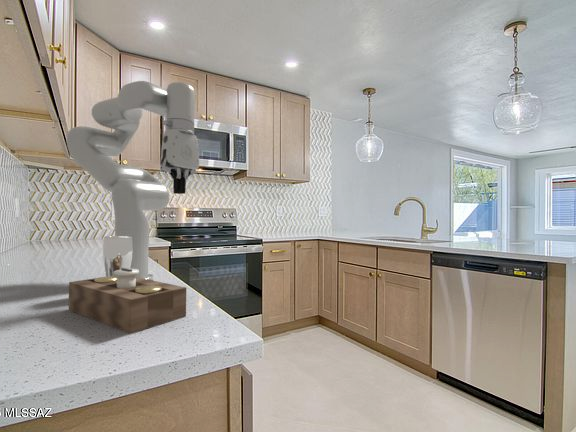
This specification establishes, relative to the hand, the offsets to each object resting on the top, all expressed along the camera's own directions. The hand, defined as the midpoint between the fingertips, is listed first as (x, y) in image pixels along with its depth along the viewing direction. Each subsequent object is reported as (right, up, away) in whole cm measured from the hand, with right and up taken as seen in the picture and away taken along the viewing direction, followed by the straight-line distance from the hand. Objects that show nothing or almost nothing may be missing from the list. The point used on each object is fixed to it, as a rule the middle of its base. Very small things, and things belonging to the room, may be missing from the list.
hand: (179, 193), depth 92 cm
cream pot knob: (-4, -24, -23) cm, 33 cm away
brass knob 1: (-10, -27, -19) cm, 34 cm away
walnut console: (-4, -27, -23) cm, 36 cm away
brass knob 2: (+3, -27, -27) cm, 38 cm away
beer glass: (-14, -27, -6) cm, 31 cm away
